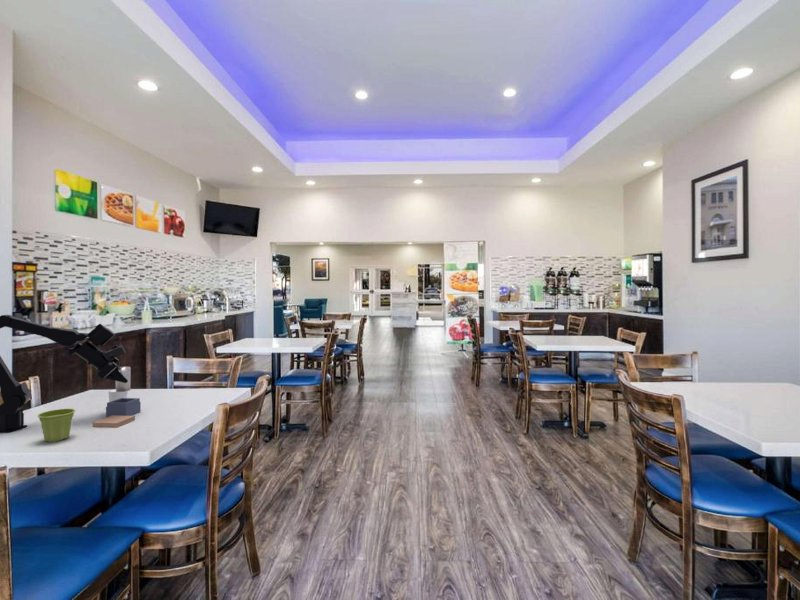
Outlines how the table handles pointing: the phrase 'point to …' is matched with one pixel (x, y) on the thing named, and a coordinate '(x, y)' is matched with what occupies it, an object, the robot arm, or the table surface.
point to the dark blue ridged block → (123, 407)
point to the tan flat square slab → (113, 421)
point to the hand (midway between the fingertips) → (127, 380)
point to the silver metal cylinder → (127, 374)
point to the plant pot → (56, 424)
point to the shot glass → (116, 395)
